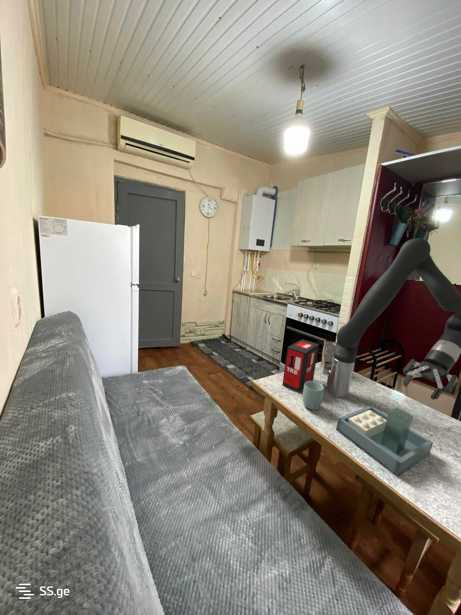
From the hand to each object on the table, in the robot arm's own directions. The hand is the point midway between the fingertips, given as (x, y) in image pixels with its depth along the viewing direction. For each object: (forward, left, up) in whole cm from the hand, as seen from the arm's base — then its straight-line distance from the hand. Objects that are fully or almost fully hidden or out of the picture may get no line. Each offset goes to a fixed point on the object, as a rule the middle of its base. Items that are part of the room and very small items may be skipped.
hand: (417, 391), depth 86 cm
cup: (-29, -16, -21) cm, 39 cm away
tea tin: (0, -8, -19) cm, 21 cm away
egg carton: (-10, -8, -20) cm, 24 cm away
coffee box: (-50, +19, -21) cm, 57 cm away
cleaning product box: (-46, -7, -21) cm, 51 cm away
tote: (-4, -8, -20) cm, 22 cm away
